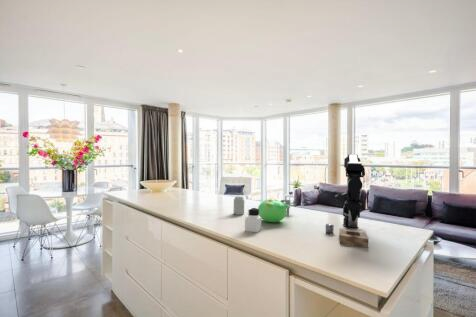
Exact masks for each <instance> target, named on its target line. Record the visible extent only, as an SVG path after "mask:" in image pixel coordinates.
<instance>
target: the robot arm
mask: <svg viewBox="0 0 476 317" xmlns="http://www.w3.org/2000/svg"><path fill="white" fill-rule="evenodd" d="M343 167H344V169H345V177H346V178H347V189H346V192H342V193H341V192H340V193H337V194H335V195H334V198H335V200H336V202H337V203H341V202H344V201H345V202H344V205H343V206H342V207H343V209H342V210H343V211H342V216H343V224H342V226H344V227H345V228H348V229H358V228H359V226H358V227H350V226H349V210H350V212H351V217H352V221H355V220H356V218H357V216H358V219H359V218H360V217H361V210H362V209H363V205H362V203H361V201H362V200H361V193H362V192H361V189H362V188H363V181H362V180H361V178H364V177H365V176H366V169H365V166H364V165H362V162H361V157H359V155H358V154H355V153H348V154H347V156H346V157H345V158H344V164H343Z"/></svg>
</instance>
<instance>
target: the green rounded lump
mask: <svg viewBox="0 0 476 317" xmlns="http://www.w3.org/2000/svg"><path fill="white" fill-rule="evenodd" d="M290 205H291V204H290ZM290 205H284V204H283V203H282V202H281V200H278V199H275V198H274V197H270V198H268V199H266V200H263V201H262V202H261V203H260V204H258V207H257V209H259V217H261V220H262V221H265V222H268V223H278V222H281V221H282V220H284V219H285V217H286V215H287V208H289V207H290V208H291V206H290ZM290 208H289V209H290Z"/></svg>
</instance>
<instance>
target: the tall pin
mask: <svg viewBox="0 0 476 317" xmlns="http://www.w3.org/2000/svg"><path fill="white" fill-rule="evenodd" d="M358 223H359V218H358V216H357V218H356V220H355V221H352V217H351V212H350V210H349V226H350V227H358V228H359V226H358Z"/></svg>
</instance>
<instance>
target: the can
mask: <svg viewBox="0 0 476 317" xmlns="http://www.w3.org/2000/svg"><path fill="white" fill-rule="evenodd" d="M233 214H234V215H235V216H243V215H244V214H245V198H244V196H235V197H234V198H233Z"/></svg>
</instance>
